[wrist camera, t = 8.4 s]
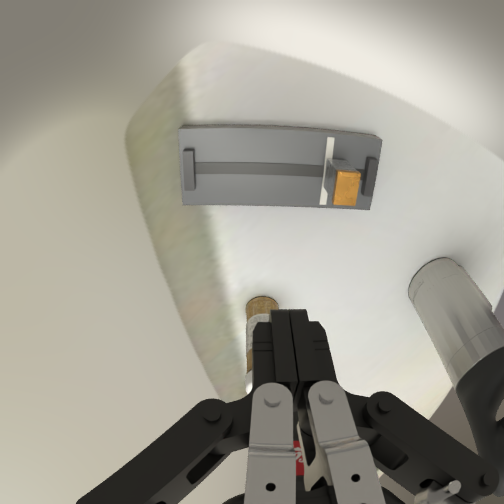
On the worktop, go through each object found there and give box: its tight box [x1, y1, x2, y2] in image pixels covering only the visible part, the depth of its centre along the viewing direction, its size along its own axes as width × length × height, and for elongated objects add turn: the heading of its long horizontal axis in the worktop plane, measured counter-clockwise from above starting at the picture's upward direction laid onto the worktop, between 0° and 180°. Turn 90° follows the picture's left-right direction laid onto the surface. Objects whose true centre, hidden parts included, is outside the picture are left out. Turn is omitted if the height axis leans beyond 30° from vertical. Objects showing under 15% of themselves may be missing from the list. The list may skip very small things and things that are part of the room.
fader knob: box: [323, 158, 361, 206], centre depth 28 cm, size 2×3×4 cm
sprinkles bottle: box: [245, 297, 278, 394], centre depth 36 cm, size 5×5×13 cm
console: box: [178, 125, 382, 210], centre depth 30 cm, size 20×8×3 cm, turn 88°
